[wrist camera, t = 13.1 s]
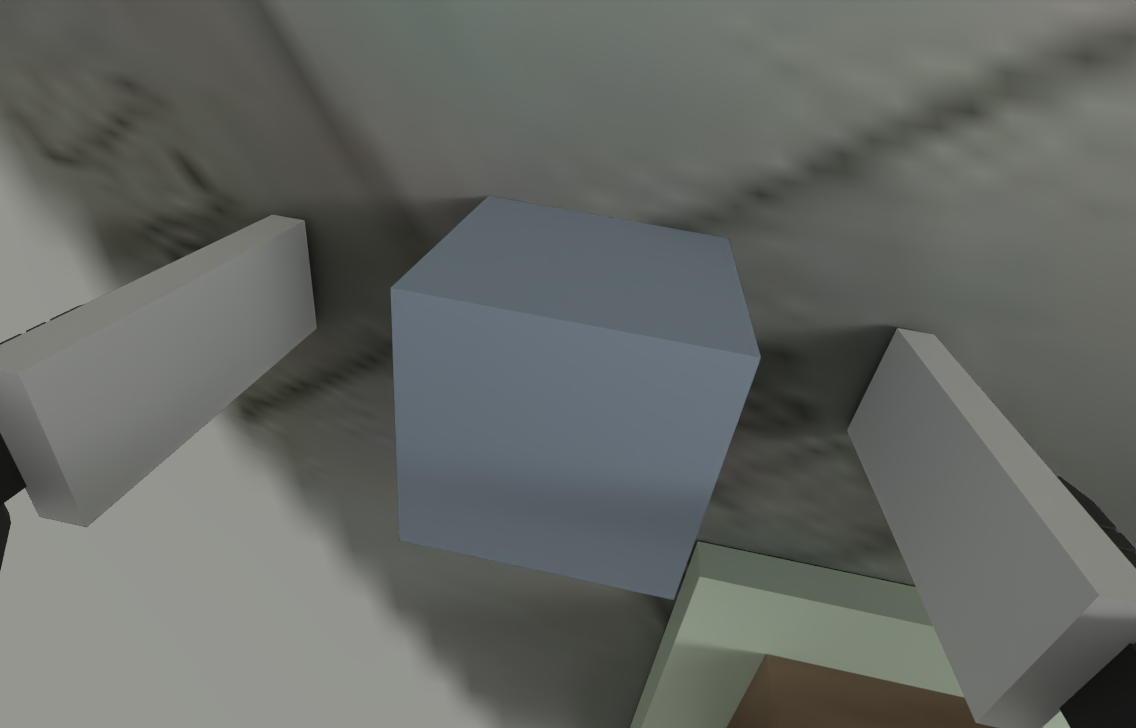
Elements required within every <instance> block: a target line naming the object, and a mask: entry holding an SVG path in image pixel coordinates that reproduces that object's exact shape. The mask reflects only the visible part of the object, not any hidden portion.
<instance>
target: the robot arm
mask: <svg viewBox="0 0 1136 728" xmlns="http://www.w3.org/2000/svg"><path fill="white" fill-rule="evenodd" d="M316 329H317V325H316V316H315V307H314V298H313V289H312V280H311V272H310V263H309V254H308V245H307V236H306V227H305V220H299V219H294V218H288V217H283V216H277V215H270V216H268V217H266V218H264V219H262V220H260V221H258V222H256V223H254V224H251V225H249V226H247V227H245V228H243V229H241V230H239V231H237V232H235V233H233V234H231V235H229V236H226V237H224V238H222V239H220V240H218V241H216V242H214V243H212V244H210V245H208V246H206V247H203V248H201V249H199V250H197V251H195V252H193V253H191V254H189V255H187V256H185V257H183V258H180V259H178V260H176V261H174V262H172V263H170V264H168V265H166V266H164V267H162V268H160V269H158V270H155V271H153V272H151V273H149V274H147V275H145V276H143V277H141V278H139V279H137V280H135V281H132V282H130V283H128V284H126V285H124V286H122V287H120V288H118V289H116V290H114V291H112V292H110V293H107V294H105V295H103V296H101V297H99V298H97V299H95V300H93V301H91V302H89V303H87V304H84V305H80V306H77V307H75V308H73V309H71V310H69V311H67V312H65V313H63V314H61V315H58V316H56V317H54V318H52V319H51V320H50V321H49V322H47V323H46V322H44V323H42V324H40V325H37V326H36V327H33V328H31V329H29V330H27V331H26V333H24V334H18V335H17V336H14V337H12V338H10V339H8V340H6V341H4V342H2V343H0V570H1V565H2V561H3V556H4V551H5V547H6V543H7V538H8V534H9V529H10V525H11V521H10V516H9V512H8V510H7V508H6V506H5V505H4V502H6V501H7V500H9V499H10V498H11V497H13V496H14V495H15V494H17V493H18V492H20V491H21V490H22V489H24V488H25V489H26V490H27V492H28V494H29V497H30V499H31V500H32V503H33V505H34V507H35V509H36V510H37V512H38V515H39V517H43V518H47V519H52V520H57V521H61V522H65V523H70V524H74V525H79V526H84V527H88V526H89V525H90V524H91V523H92V522H93V521H94V520H96V519H97V518H98V517H99V516H100V515H102V514H103V513H104V512H105V511H106V510H107V509H108V508H109V507H111V506H112V505H113V504H114V503H115V502H117V501H118V500H119V499H120V498H121V497H122V496H124V494H126V493H127V492H128V491H129V490H130V489H132V488H133V487H134V486H135V485H136V484H137V483H138V482H140V481H141V480H142V479H143V478H144V477H146V476H147V475H148V474H149V473H150V472H151V471H152V470H154V469H155V468H156V467H157V466H158V465H159V464H161V463H162V462H163V461H164V460H165V459H166V458H167V457H169V456H170V455H171V454H172V453H173V452H174V451H176V449H178V448H179V447H180V446H181V445H183V443H185V442H186V441H187V440H188V439H189V438H191V437H192V436H193V435H194V434H195V433H196V432H198V431H199V430H200V429H201V428H202V427H203V426H204V425H206V424H207V423H208V422H209V421H210V420H211V419H213V418H214V417H215V416H216V415H217V414H218V413H220V412H221V411H222V410H223V409H224V408H225V407H226V406H228V405H229V404H230V403H231V402H232V401H233V400H235V399H236V398H237V397H238V396H239V395H240V394H241V393H243V392H244V391H245V390H246V389H247V388H248V387H250V386H251V385H252V384H253V383H254V382H255V381H257V380H258V379H259V378H260V377H261V376H262V375H263V374H265V373H266V372H267V371H268V370H269V369H270V368H272V367H273V366H274V365H275V364H276V363H277V362H279V361H280V360H281V359H282V358H283V357H284V356H285V355H287V354H288V353H289V352H290V351H291V350H292V349H294V348H295V347H296V346H297V345H298V344H299V343H300V342H302V341H303V340H304V339H305V338H306V337H307V336H309V335H310V334H311V333H312V332H313V331H314V330H316ZM847 432H848V434H849V436H850V439H851V441H852V443H853V445H854V448H855V450H856V452H857V455H858V457H859V459H860V461H861V464H862V466H863V468H864V470H865V473H866V475H867V477H868V480H869V482H870V484H871V486H872V489H873V491H874V493H875V495H876V498H877V500H878V502H879V504H880V507H881V509H882V511H883V514H884V516H885V518H886V520H887V523H888V525H889V527H890V529H891V532H892V534H893V536H894V538H895V541H896V543H897V545H898V548H899V550H900V552H901V554H902V557H903V559H904V561H905V563H906V566H907V568H908V570H909V573H910V575H911V577H912V579H913V582H914V584H915V586H916V588H917V591H918V593H919V595H920V597H921V600H922V602H923V604H924V607H925V609H926V611H927V613H928V616H929V618H930V620H931V622H932V625H933V627H934V629H935V631H936V634H937V636H938V638H939V641H940V643H941V645H942V647H943V650H944V652H945V654H946V656H947V659H948V661H949V663H950V666H951V668H952V670H953V672H954V675H955V677H956V679H957V681H958V684H959V686H960V688H961V690H962V693H963V695H964V697H965V700H966V702H967V704H968V706H969V709H970V711H971V713H972V715H973V718H974V720H975V722H976V723H979V724H983V725H988V726H992V727H997V728H1042V727H1043V726H1044V725H1046V724H1047V723H1048V722H1049V721H1050V720H1051V719H1052V718H1053V717H1054V716H1055V715H1057V714H1058V713H1059V712H1060V711H1061V712H1062V714H1063V716H1064V718H1065V719H1066V721H1067V723H1068V725H1069V726H1070V728H1136V549H1135V548H1134V547H1133V546H1132V545H1131V543H1130V542H1129V541H1128V540H1127V539H1126V538H1125V537H1124V536H1123V535H1122V533H1117V532H1116V527H1115V526H1114V524H1113V523H1112V522H1111V521H1110V520H1109V519H1108V518H1107V517H1106V515H1105V514H1104V513H1103V512H1102V511H1101V510H1100V509H1099V508H1098V507H1097V505H1096V504H1095V503H1094V502H1093V501H1092V500H1090V499H1089V498H1088V497H1086V496H1085V495H1084V494H1082V493H1081V492H1080V491H1078V490H1077V489H1076V488H1074V487H1073V486H1072V485H1070V484H1069V483H1068V482H1066V481H1065V480H1064V479H1062V478H1061V477H1057V476H1056V475H1055V474H1054V473H1053V472H1052V471H1051V470H1050V469H1049V467H1048V466H1047V465H1046V464H1045V463H1044V462H1043V460H1042V459H1041V458H1040V457H1039V456H1038V455H1037V453H1036V452H1035V451H1034V450H1033V449H1032V448H1031V446H1030V445H1029V444H1028V443H1027V442H1026V441H1025V439H1024V438H1023V437H1022V436H1021V435H1020V434H1019V432H1018V431H1017V430H1016V429H1015V428H1014V427H1013V426H1012V424H1011V423H1010V422H1009V421H1008V420H1007V419H1006V417H1005V416H1004V415H1003V414H1002V413H1001V412H1000V410H999V409H998V408H997V407H996V406H995V405H994V403H993V402H992V401H991V400H990V399H989V398H988V396H987V395H986V394H985V393H984V392H983V391H982V389H981V388H980V387H979V386H978V385H977V384H976V383H975V381H974V380H973V379H972V378H971V377H970V376H969V374H968V373H967V372H966V371H965V370H964V369H963V367H962V366H961V365H960V364H959V363H958V362H957V360H956V359H955V358H954V357H953V356H952V355H951V353H950V352H949V351H948V350H947V349H946V348H945V346H944V345H943V344H942V343H941V342H940V341H939V340H938V338H937V337H936V336H935V335H933V334H928V333H922V332H917V331H911V330H906V329H900V328H897V329H896V331H895V334H894V336H893V338H892V340H891V342H890V344H889V346H888V348H887V350H886V352H885V354H884V356H883V358H882V360H881V362H880V364H879V366H878V368H877V370H876V372H875V374H874V376H873V378H872V380H871V382H870V384H869V387H868V389H867V391H866V393H865V395H864V397H863V399H862V401H861V403H860V405H859V407H858V409H857V411H856V413H855V415H854V417H853V419H852V421H851V423H850V425H849V427H848V429H847Z"/></svg>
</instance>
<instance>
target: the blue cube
mask: <svg viewBox="0 0 1136 728" xmlns="http://www.w3.org/2000/svg"><path fill="white" fill-rule="evenodd" d="M391 315H392V345H393V374H394V403H395V432H396V462H397V491H398V520H399V541H403V542H408V543H413V544H417V545H422V546H426V547H431V548H436V549H440V550H445V551H449V552H454V553H459V554H463V555H468V556H473V557H477V558H482V559H486V560H491V561H496V562H500V563H505V564H509V565H514V566H519V567H523V568H528V569H533V570H537V571H542V572H546V573H551V574H556V575H560V576H565V577H569V578H574V579H579V580H583V581H588V582H593V583H597V584H602V585H606V586H611V587H616V588H620V589H625V590H629V591H634V592H639V593H643V594H648V595H653V596H657V597H662V598H666V599H671V600H674V598H675V595H676V592H677V589H678V587H679V584H680V581H681V578H682V576H683V573H684V570H685V567H686V564H687V562H688V559H689V556H690V553H691V551H692V548H693V545H694V542H695V539H696V537H697V534H698V531H699V528H700V526H701V523H702V520H703V517H704V514H705V512H706V509H707V506H708V503H709V501H710V498H711V495H712V492H713V489H714V487H715V484H716V481H717V478H718V476H719V473H720V470H721V467H722V464H723V462H724V459H725V456H726V453H727V451H728V448H729V445H730V442H731V439H732V437H733V434H734V431H735V428H736V426H737V423H738V420H739V417H740V414H741V412H742V409H743V406H744V403H745V401H746V398H747V395H748V392H749V389H750V387H751V384H752V381H753V378H754V376H755V373H756V370H757V367H758V364H759V362H760V359H761V356H760V352H759V349H758V345H757V342H756V338H755V334H754V331H753V327H752V323H751V320H750V316H749V313H748V309H747V305H746V302H745V298H744V295H743V291H742V287H741V284H740V280H739V276H738V273H737V269H736V266H735V262H734V258H733V255H732V251H731V247H730V244H729V240H728V238H724V237H718V236H713V235H707V234H701V233H696V232H690V231H684V230H679V229H673V228H667V227H662V226H656V225H650V224H645V223H639V222H633V221H628V220H622V219H616V218H611V217H605V216H599V215H594V214H588V213H582V212H577V211H571V210H565V209H560V208H554V207H548V206H543V205H537V204H532V203H526V202H520V201H515V200H509V199H503V198H498V197H492V196H488V197H487V198H486V199H485V200H484V201H483V202H481V203H480V204H479V205H478V206H477V207H476V208H475V209H474V210H473V211H472V212H471V213H470V214H469V215H468V216H467V217H465V218H464V219H463V220H462V221H461V222H460V223H459V224H458V225H457V226H456V227H455V228H454V229H453V230H452V231H451V232H450V233H448V234H447V235H446V236H445V237H444V238H443V239H442V240H441V241H440V242H439V243H438V244H437V245H436V246H435V247H434V248H432V249H431V250H430V251H429V252H428V253H427V254H426V255H425V256H424V257H423V258H422V259H421V260H420V261H419V262H418V263H416V264H415V265H414V266H413V267H412V268H411V269H410V270H409V271H408V272H407V273H406V274H405V275H404V276H403V277H402V278H400V279H399V280H398V281H397V282H396V283H395V284H394V285H393V286H392V287H391Z"/></svg>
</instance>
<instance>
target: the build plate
mask: <svg viewBox="0 0 1136 728" xmlns="http://www.w3.org/2000/svg"><path fill="white" fill-rule="evenodd" d="M766 654H770V655H774V656H779V657H783V658H788V659H793V660H797V661H802V662H806V663H811V664H815V665H820V666H824V667H829V668H833V669H838V670H842V671H847V672H851V673H856V674H860V675H865V676H869V677H874V678H878V679H883V680H887V681H892V682H897V683H901V684H906V685H910V686H915V687H919V688H924V689H928V690H933V691H937V692H942V693H946V694H951V695H955V696H960V697H964V695H963V693H962V690H961V688H960V686H959V684H958V681H957V679H956V677H955V675H954V672H953V670H952V668H951V666H950V663H949V661H948V659H947V656H946V654H945V652H944V650H943V647H942V645H941V643H940V641H939V638H938V636H937V634H936V631H935V629H934V627H933V625H932V622H931V620H930V618H929V616H928V613H927V611H926V609H925V607H924V604H923V602H922V600H921V597H920V595H919V593H918V591H917V588H916V587H913V586H908V585H903V584H899V583H894V582H889V581H884V580H880V579H875V578H870V577H865V576H861V575H856V574H851V573H846V572H842V571H837V570H832V569H827V568H822V567H818V566H813V565H808V564H803V563H799V562H794V561H789V560H784V559H780V558H775V557H770V556H765V555H761V554H756V553H751V552H746V551H742V550H737V549H732V548H727V547H723V546H718V545H713V544H708V543H704V542H699V541H698V542H697V545H696V547H695V550H694V553H693V556H692V558H691V561H690V564H689V567H688V569H687V572H686V575H685V578H684V580H683V583H682V586H681V589H680V591H679V594H678V597H677V600H676V602H675V605H674V608H673V611H672V613H671V616H670V619H669V622H668V624H667V627H666V630H665V633H664V635H663V638H662V641H661V644H660V646H659V649H658V652H657V655H656V657H655V660H654V663H653V666H652V668H651V671H650V674H649V677H648V679H647V682H646V685H645V688H644V690H643V693H642V696H641V699H640V701H639V704H638V707H637V710H636V712H635V715H634V718H633V721H632V723H631V726H630V728H727V726H728V724H729V722H730V720H731V718H732V716H733V714H734V713H735V711H736V709H737V707H738V705H739V703H740V701H741V700H742V698H743V696H744V694H745V692H746V690H747V688H748V686H749V685H750V683H751V681H752V679H753V677H754V675H755V673H756V672H757V670H758V668H759V666H760V664H761V662H762V660H763V658H764V657H765V655H766ZM964 698H965V697H964ZM1042 728H1070V726H1069V725H1068V723H1067V721H1066V719H1065V718H1064V716H1063V714H1062V712H1061V711H1060V712H1059V713H1058V714H1057V715H1055V716H1054V717H1053V718H1052V719H1051V720H1050V721H1049V722H1048V723H1047V724H1046V725H1044V726H1043V727H1042Z"/></svg>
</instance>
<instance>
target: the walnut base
mask: <svg viewBox="0 0 1136 728" xmlns="http://www.w3.org/2000/svg"><path fill="white" fill-rule="evenodd" d="M727 728H997V727H992V726H988V725H983V724H979V723H976V722H975V720H974V718H973V715H972V713H971V711H970V709H969V706H968V704H967V702H966V700H965V698H964V697H960V696H955V695H951V694H946V693H942V692H937V691H933V690H928V689H924V688H919V687H915V686H910V685H906V684H901V683H897V682H892V681H887V680H883V679H878V678H874V677H869V676H865V675H860V674H856V673H851V672H847V671H842V670H838V669H833V668H829V667H824V666H820V665H815V664H811V663H806V662H802V661H797V660H793V659H788V658H783V657H779V656H774V655H770V654H766V655H765V657H764V658H763V660H762V662H761V664H760V666H759V668H758V670H757V672H756V673H755V675H754V677H753V679H752V681H751V683H750V685H749V686H748V688H747V690H746V692H745V694H744V696H743V698H742V700H741V701H740V703H739V705H738V707H737V709H736V711H735V713H734V714H733V716H732V718H731V720H730V722H729V724H728V726H727Z"/></svg>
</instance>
